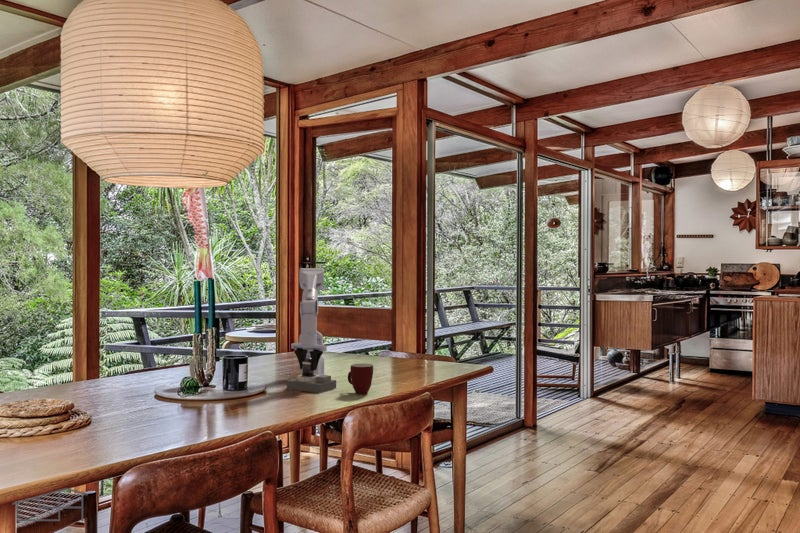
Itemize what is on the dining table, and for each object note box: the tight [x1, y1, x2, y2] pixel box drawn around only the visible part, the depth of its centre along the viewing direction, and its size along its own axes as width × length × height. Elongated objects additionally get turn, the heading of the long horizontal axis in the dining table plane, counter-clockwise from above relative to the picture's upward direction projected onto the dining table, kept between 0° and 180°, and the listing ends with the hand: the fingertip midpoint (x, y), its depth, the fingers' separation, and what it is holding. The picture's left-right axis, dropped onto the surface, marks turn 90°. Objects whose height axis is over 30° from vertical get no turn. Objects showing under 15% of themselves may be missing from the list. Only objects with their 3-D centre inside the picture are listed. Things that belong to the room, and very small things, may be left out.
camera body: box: [286, 374, 337, 394], centre depth 231 cm, size 10×15×5 cm, turn 63°
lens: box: [301, 358, 314, 376], centre depth 231 cm, size 5×5×6 cm
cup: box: [188, 357, 207, 378], centre depth 233 cm, size 8×8×10 cm
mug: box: [347, 363, 374, 395], centre depth 224 cm, size 10×8×10 cm
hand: (308, 369), depth 231 cm, fingers closed on lens, 4 cm apart
